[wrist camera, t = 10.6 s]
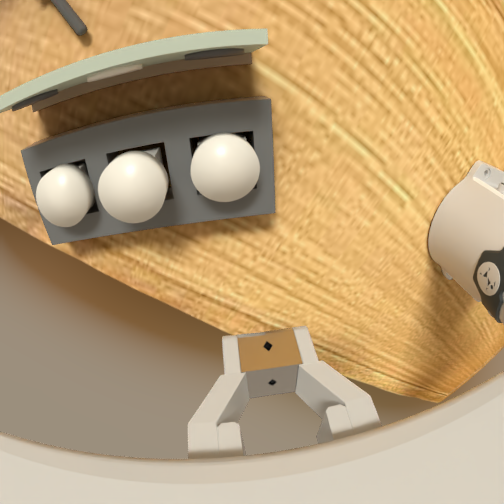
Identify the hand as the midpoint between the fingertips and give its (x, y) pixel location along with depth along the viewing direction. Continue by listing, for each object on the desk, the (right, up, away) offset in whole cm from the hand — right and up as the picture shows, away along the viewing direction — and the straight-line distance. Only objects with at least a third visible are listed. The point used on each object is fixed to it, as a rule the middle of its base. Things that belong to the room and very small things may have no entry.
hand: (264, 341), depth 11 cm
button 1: (-17, +10, +14) cm, 24 cm away
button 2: (-3, +12, +15) cm, 19 cm away
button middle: (-10, +10, +13) cm, 19 cm away
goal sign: (-11, +19, +9) cm, 24 cm away
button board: (-10, +11, +15) cm, 21 cm away
